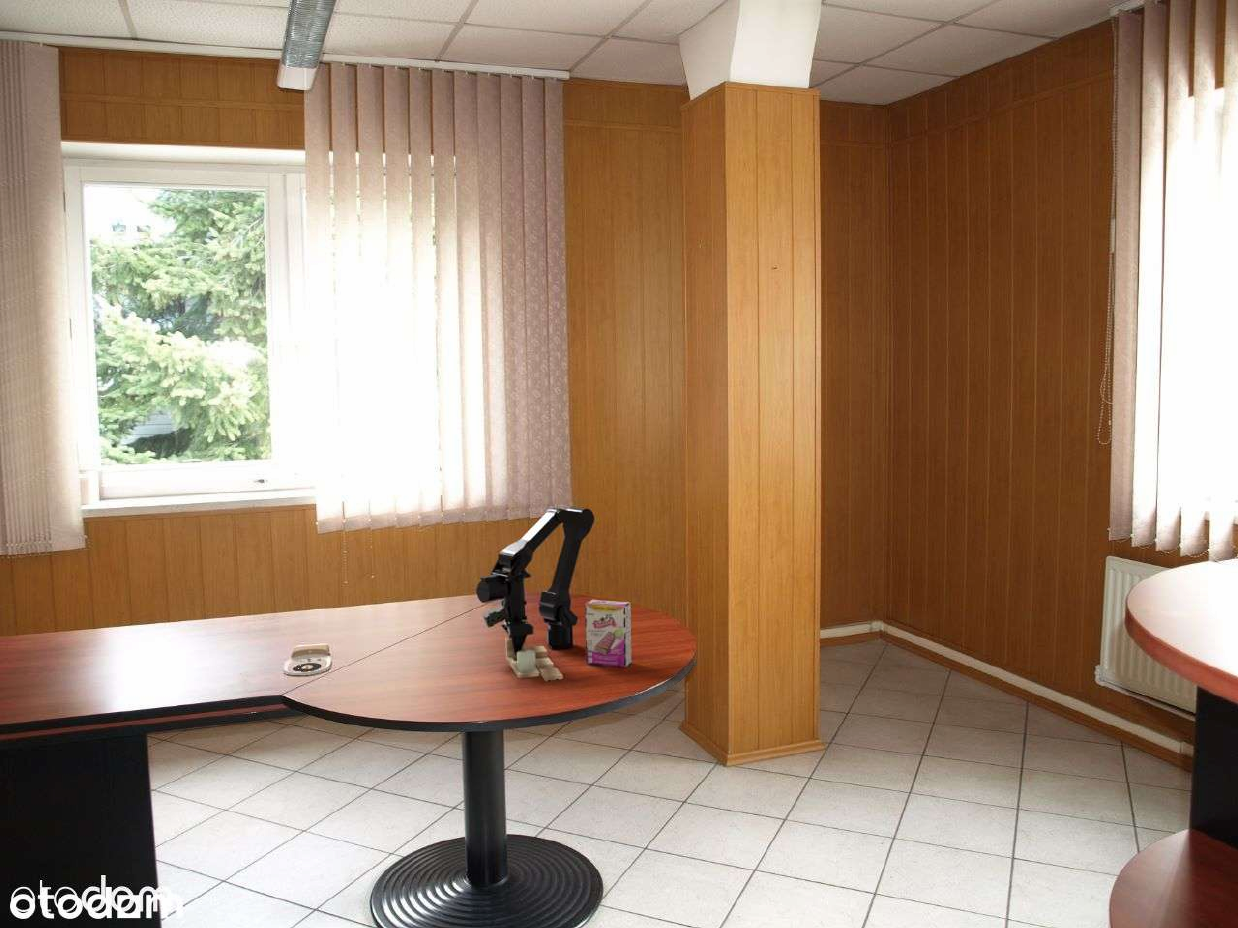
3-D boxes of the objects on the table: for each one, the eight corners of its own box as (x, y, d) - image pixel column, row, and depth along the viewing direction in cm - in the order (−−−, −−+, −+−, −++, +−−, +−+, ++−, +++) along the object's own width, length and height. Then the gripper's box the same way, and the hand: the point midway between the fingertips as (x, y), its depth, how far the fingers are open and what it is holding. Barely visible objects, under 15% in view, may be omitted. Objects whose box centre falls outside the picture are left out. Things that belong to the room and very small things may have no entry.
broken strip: (543, 654, 284) (543, 645, 284) (562, 678, 262) (562, 669, 262) (527, 655, 283) (527, 647, 283) (545, 680, 261) (545, 671, 261)
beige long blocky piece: (524, 655, 283) (524, 636, 282) (539, 675, 265) (538, 654, 265) (505, 657, 281) (505, 637, 281) (519, 678, 264) (518, 656, 263)
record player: (333, 642, 290) (328, 664, 271) (333, 653, 291) (328, 676, 271) (289, 646, 288) (280, 668, 268) (289, 657, 288) (281, 680, 269)
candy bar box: (585, 665, 274) (584, 603, 272) (592, 659, 278) (590, 598, 276) (626, 668, 270) (624, 605, 268) (632, 662, 275) (631, 601, 273)
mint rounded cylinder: (533, 666, 270) (533, 649, 270) (537, 671, 266) (536, 653, 265) (515, 668, 269) (515, 650, 268) (519, 673, 265) (518, 655, 264)
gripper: (478, 591, 286) (480, 647, 287) (490, 606, 268) (492, 666, 270) (518, 587, 289) (520, 643, 291) (532, 602, 271) (534, 661, 273)
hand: (516, 653), depth 281 cm, fingers closed on beige long blocky piece, 2 cm apart
